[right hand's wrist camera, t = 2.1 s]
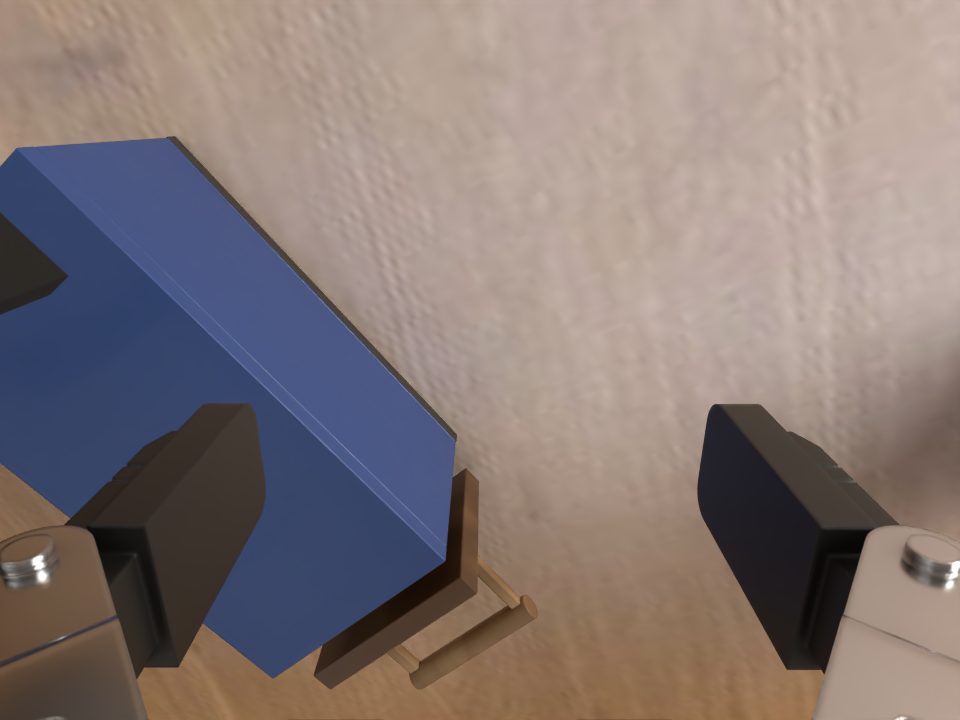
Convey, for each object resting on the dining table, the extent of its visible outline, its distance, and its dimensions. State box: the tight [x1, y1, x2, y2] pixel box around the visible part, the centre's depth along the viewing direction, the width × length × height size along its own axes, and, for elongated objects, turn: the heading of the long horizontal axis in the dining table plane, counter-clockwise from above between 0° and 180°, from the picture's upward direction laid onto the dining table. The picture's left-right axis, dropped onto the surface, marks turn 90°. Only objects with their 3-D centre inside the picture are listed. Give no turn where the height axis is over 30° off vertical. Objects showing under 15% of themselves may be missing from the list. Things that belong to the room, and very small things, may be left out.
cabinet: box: [0, 136, 457, 678], centre depth 29 cm, size 21×10×11 cm, turn 40°
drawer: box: [314, 469, 538, 689], centre depth 31 cm, size 26×9×9 cm, turn 40°
